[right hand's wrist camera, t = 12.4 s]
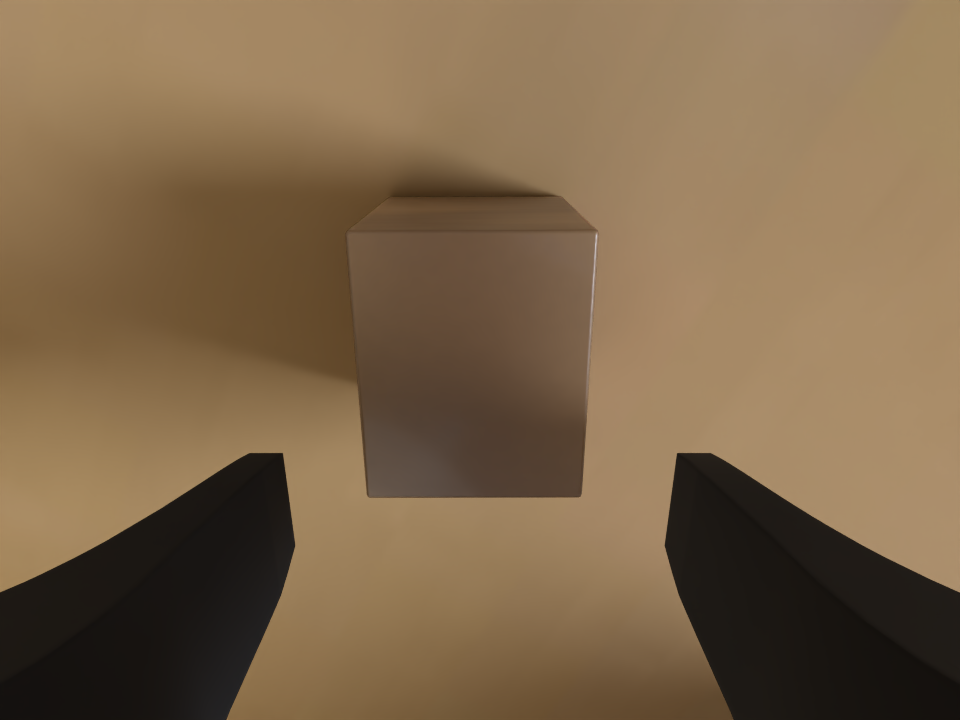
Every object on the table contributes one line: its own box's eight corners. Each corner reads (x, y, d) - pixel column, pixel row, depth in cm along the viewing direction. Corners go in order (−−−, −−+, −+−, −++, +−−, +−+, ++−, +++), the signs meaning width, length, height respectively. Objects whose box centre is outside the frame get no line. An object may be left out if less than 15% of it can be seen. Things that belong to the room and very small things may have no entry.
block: (563, 195, 14) (599, 230, 10) (554, 393, 16) (582, 498, 12) (387, 196, 14) (344, 230, 10) (398, 394, 16) (366, 499, 12)
